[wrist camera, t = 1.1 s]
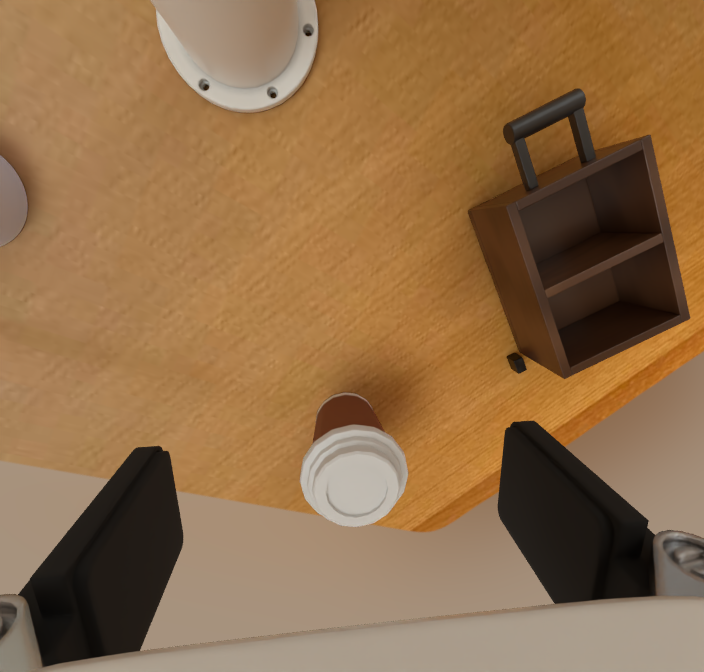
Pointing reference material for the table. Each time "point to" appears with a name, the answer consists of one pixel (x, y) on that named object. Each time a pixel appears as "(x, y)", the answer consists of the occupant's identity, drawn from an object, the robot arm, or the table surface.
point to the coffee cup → (352, 464)
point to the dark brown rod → (516, 363)
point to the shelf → (581, 247)
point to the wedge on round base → (11, 203)
